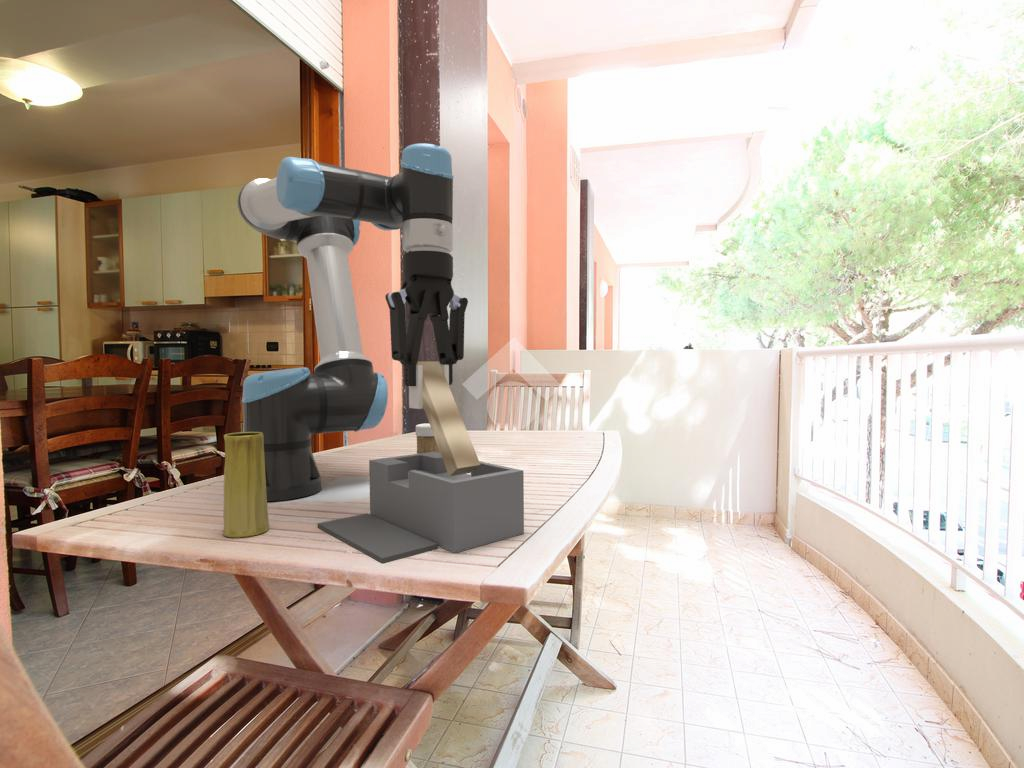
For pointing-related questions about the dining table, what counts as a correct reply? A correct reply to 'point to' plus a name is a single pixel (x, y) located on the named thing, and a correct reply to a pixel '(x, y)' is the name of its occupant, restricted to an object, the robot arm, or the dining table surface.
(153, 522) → the dining table surface
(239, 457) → the vase
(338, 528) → the rubber mat
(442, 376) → the birch bar
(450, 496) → the pocket block
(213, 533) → the dining table surface
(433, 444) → the sprinkles bottle
